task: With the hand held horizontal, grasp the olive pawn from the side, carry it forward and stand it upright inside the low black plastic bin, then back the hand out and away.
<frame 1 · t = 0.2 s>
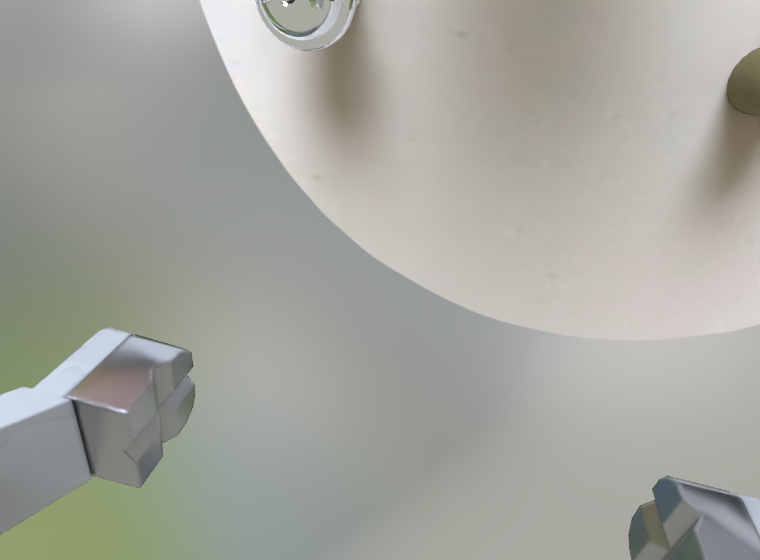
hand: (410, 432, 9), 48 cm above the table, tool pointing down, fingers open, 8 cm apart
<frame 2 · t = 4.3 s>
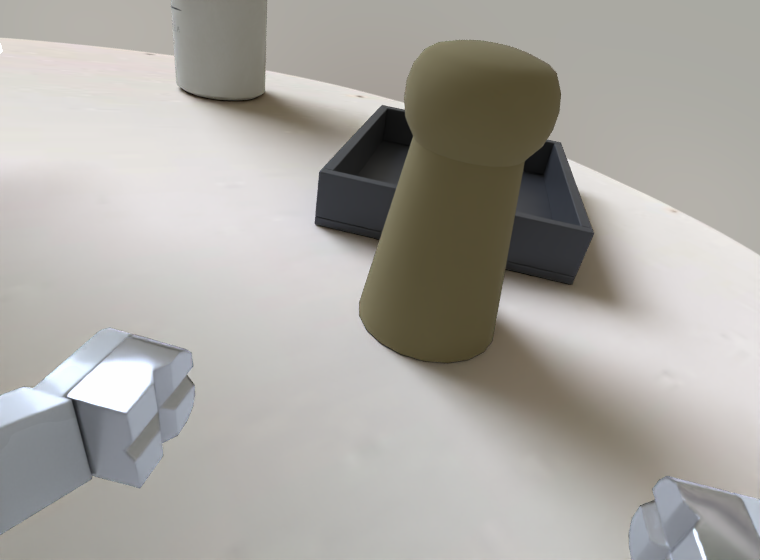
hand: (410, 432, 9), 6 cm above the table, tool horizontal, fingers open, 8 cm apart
olive pawn: (425, 319, 22), on the table
travel mug: (221, 92, 47), on the table
bin: (452, 198, 34), on the table
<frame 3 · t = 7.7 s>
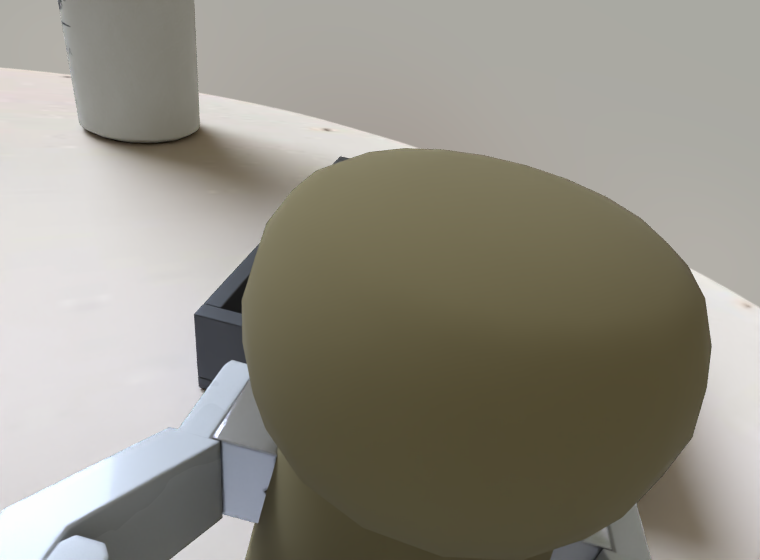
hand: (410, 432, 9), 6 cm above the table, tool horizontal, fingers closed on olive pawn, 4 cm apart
travel mug: (142, 129, 37), on the table
bin: (433, 305, 23), on the table
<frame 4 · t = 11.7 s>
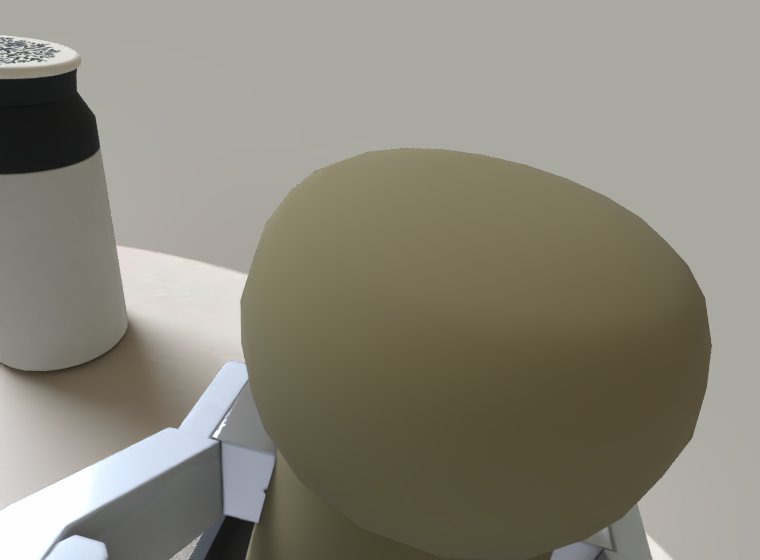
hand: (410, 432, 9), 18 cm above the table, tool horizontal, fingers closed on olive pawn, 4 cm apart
travel mug: (64, 336, 34), on the table
when the fingers open (7 cm above the table, at t = 15.5 s): olive pawn stays where it is, resting on bin.
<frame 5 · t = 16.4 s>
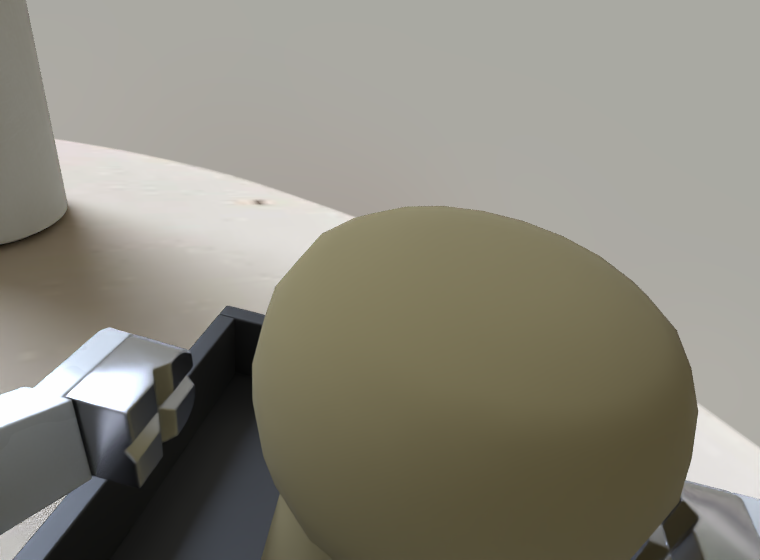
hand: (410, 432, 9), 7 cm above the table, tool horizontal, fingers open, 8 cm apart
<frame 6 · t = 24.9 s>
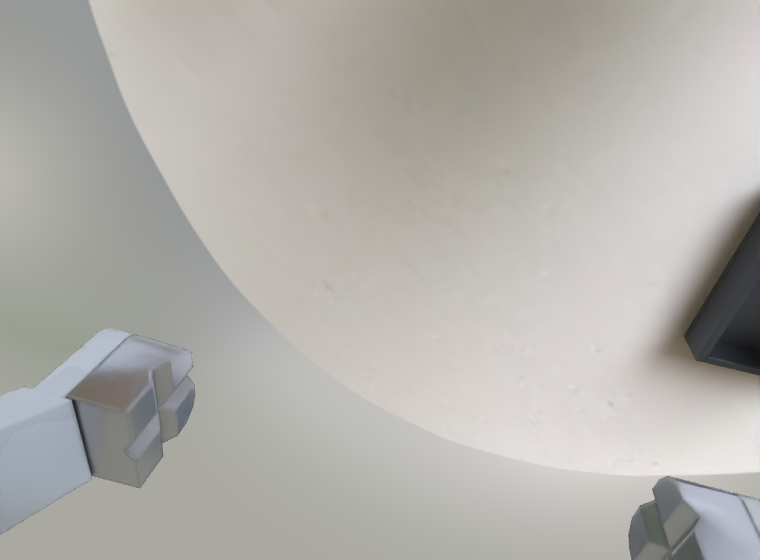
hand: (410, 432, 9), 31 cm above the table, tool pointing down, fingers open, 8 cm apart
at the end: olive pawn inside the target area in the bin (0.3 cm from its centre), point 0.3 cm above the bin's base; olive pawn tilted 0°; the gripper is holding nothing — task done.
